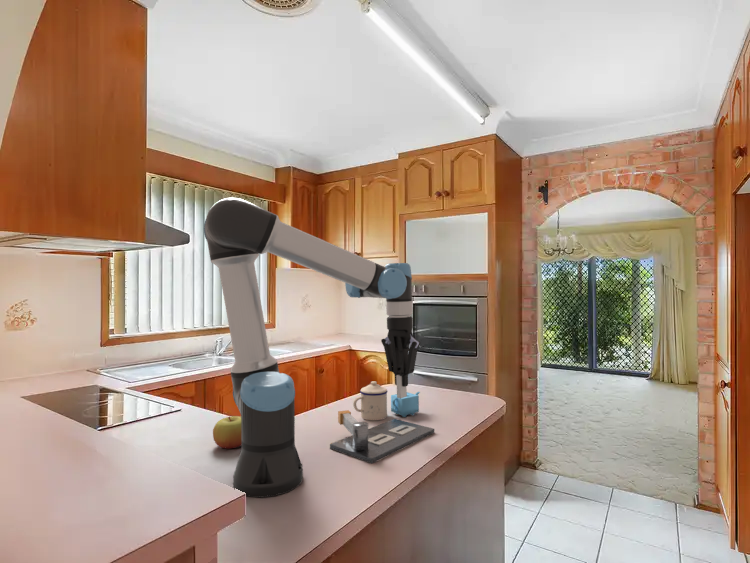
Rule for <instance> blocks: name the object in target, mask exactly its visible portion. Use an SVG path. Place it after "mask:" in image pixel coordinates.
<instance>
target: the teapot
mask: <svg viewBox="0 0 750 563" xmlns="http://www.w3.org/2000/svg"><path fill="white" fill-rule="evenodd" d="M420 393H421V391H417V392H415V394H414V393H413V392H412V393H411V392H408V391H407V396H406V397H404V398H397V393H396V394H391V395H390V412H392V413H394V414H395V415H396V414H397V416H398V414H399V416H401V417H402V418H407V415H410V416H415V413H419V412H420V408H419V406H420V404H419V403H420V396H419V394H420Z"/></svg>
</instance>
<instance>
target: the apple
mask: <svg viewBox="0 0 750 563" xmlns="http://www.w3.org/2000/svg"><path fill="white" fill-rule="evenodd" d="M212 438H213V441H214V443H215V444H216V445H217V447H220V448H221V449H224V450H225V449H226V450H229V449H236V448H239V447H242V446H241V415H240V416H239V415H235V416H233V415H232V416H226V417H222V419H219V420H218V421H217V422H216V423H215V425H214V427H213V429H212Z"/></svg>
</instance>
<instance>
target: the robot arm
mask: <svg viewBox="0 0 750 563" xmlns="http://www.w3.org/2000/svg"><path fill="white" fill-rule="evenodd" d="M203 235H204V237H205V239H206V242H207V246H208V252H209V259H210V262H211V263H212V264H213V265H215V266H216V267H217V268H218V271H219V277H220V278H219V279H220V282H221V289H222V294H223V300H224V304H225V311H226V317H227V322H228V323H227V324H228V329H229V333H230V339H231V345H232V351H233V356H234V363H233V365H232V366H231V368H230V377H231V382H232V396H233V397H232V398H233V401H234V403H235V406H236V407H237V409H238V411H239V413H240V414H239V415H240V417H241V446H240V447H241V448H240V449H241V450H240V454H239V457H238V460H237V463H236V466H235V470H234V472H233V476H232V479H233V483H232V484H233V486H232V487H233V489H234V488H236V489H238V490H240V491H242V492H245V493H246V497H250V498H268V497H274V496H278V495H283V494H285V493H289V492H290V491H292V490H294V489H296V488H298V486H299V485H300V484H301V483H302V481H303V479H304V469H303V464H302V461H301V458H300V456H299V453H298V450H297V447H296V443H295V442H296V441H295V440H296V438H295V434H296V430H295V429H296V428H295V425H296V424H295V422H296V421H295V420H296V419H295V408H296V407H295V398H296V389H295V383H294V380H293V378H292V377H291V376H290V375H289V374H286V373H283V372H280V369H279V364H278V359H277V358H275V357H274V356H272V355H271V352H270V349H269V348H270V347H269V342H268V336H267V330H266V324H265V318H264V313H263V307H262V306H263V305H262V300H261V294H260V288H259V283H258V278H257V270H256V265H255V262H256V260H257V259H258V257H259V256H260V255H263V254H267V253H269V254H272V255H274V256H276V257H279V258H282V259H285V260H287V261H289V262H292V263H294V264H297V265H299V266H302V267H305V268H307V269H309V270H311V271H315V272H317V273H319V274H322V275H325V276H327V277H330V278H332V279H335V280H338V281H340V282H343V283H345V285H344V286H345V291H346V294H347V295H348V296H349V298H358V299H361V298H373V299H374V298H377V299H378V298H379V299H385V302H386V310H385V311H386V315H387V316H388V317H387V318H386V329H387V330H388V331H387V332H388V333H387V336H386V337H385V338H382V339H380V340H381V344H382V347H383V350H384V352H385V353H384V354H385V358H386V363H387V367H388V368H387V369H388V371H389V372H391V373H393V374H394V385H395V386H396V394H397V398H404V397H406V396H407V392H408V391H407V387H408V386H409V375H410V374H413V373H415V372H414V371H415V367H416V361H417V355H418V350H419V347H420V345H421V341H420V340H417V339H415V338H414V335H413V328H414V326H413V325H414V324H413V323H414V322H413V317H412V316H411V315H412V314H413V289H412V288H413V287H412V285H413V284H412V282H413V281H412V279H413V277H412V268H411V265H410V264H409V263H407V262H392V263H386V264H385V265H384V266H383V265H382V264H379V263H376V262H374V261H372V260H369V259H367V258H365V257H362V256H360V255H358V254H356V253H354V252H351V251H349V250H347V249H344V248H342V247H340V246H338V245H335V244H332V243H330V242H328V241H326V240H324V239H322V238H319V237H318V236H317V237H316V236H315V235H312V234H310V233H308V232H305V231H303V230H300V229H299V228H296V227H294V226H291V225H289V224H286V223H285V222H283V221H281V220H280V217H279V215H277V214H276V213H273V212H271V211H268V210H267V209H264V208H262V207H260V206H258V205H256V204H254V203H251V202H250V201H247V200H246V199H245V200H244V199H242V198H238V197H226V198H223V199H219V200H218V201H217V202H215V203H214V204H213V205H212V206H211V207H210V209H209V210H208V212H207V215H206V218H205V221H204V224H203Z"/></svg>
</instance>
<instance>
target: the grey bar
mask: <svg viewBox="0 0 750 563" xmlns="http://www.w3.org/2000/svg"><path fill="white" fill-rule="evenodd" d="M337 423H338V424H340V425H341V426H344V428H346V430H347V431H348V432H349V433H350V434H351V436H352V435H353V448H354V449H355V450H366V449H368V429H369V423H368V422H365V421H358V420H357V419H356V418H355V417H354V416H353V415H352V412H351V411H350V410H349V409H348V410H339V411H337Z"/></svg>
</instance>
